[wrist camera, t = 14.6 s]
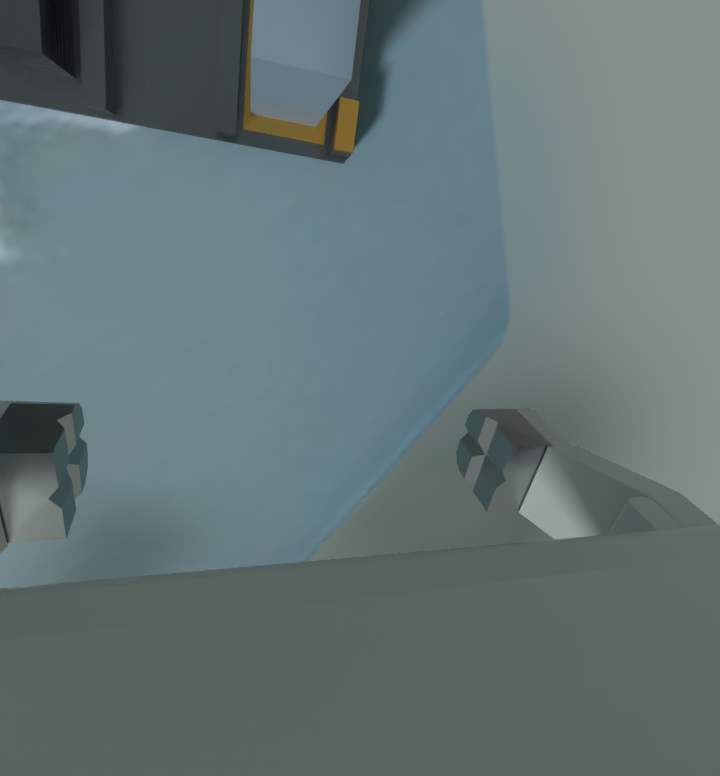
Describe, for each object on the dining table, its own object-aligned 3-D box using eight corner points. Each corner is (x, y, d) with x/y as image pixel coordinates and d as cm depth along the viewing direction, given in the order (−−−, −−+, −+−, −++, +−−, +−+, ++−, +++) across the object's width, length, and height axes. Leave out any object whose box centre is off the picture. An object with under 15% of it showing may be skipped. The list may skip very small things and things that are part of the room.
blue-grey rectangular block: (315, 126, 26) (351, 79, 17) (250, 113, 25) (250, 56, 16) (331, -28, 24) (382, -179, 15) (260, -49, 23) (267, -223, 14)
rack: (343, 163, 27) (359, 155, 23) (-43, 91, 23) (-107, 65, 19) (368, -49, 24) (392, -101, 20) (-74, -184, 19) (-159, -287, 15)
